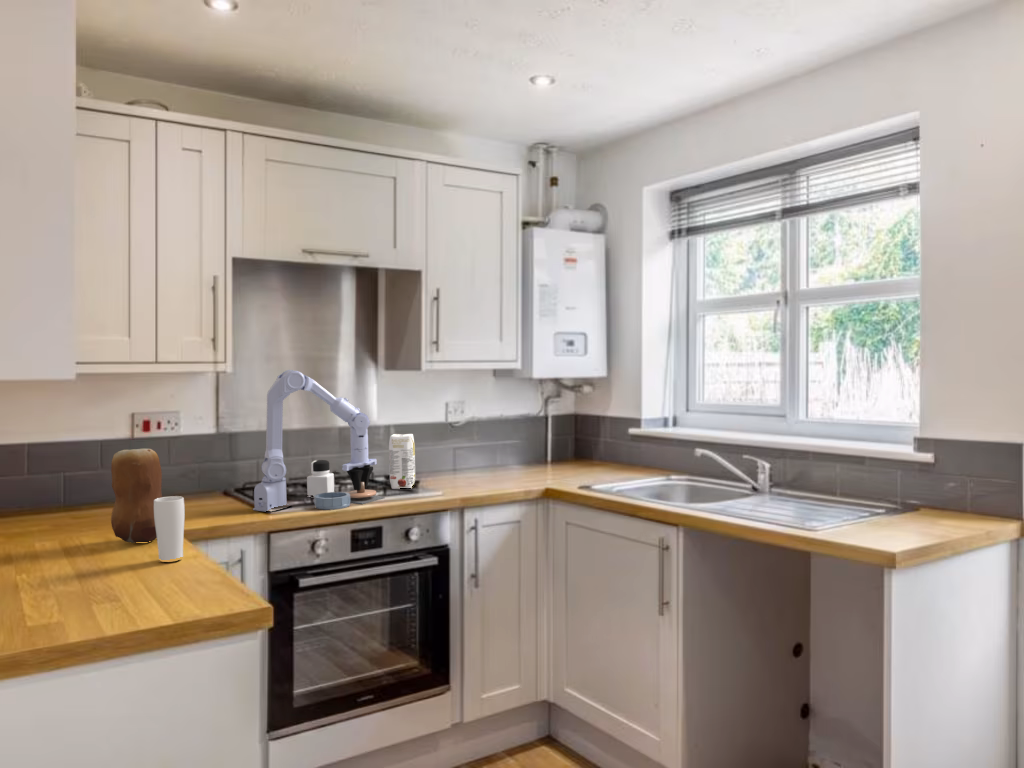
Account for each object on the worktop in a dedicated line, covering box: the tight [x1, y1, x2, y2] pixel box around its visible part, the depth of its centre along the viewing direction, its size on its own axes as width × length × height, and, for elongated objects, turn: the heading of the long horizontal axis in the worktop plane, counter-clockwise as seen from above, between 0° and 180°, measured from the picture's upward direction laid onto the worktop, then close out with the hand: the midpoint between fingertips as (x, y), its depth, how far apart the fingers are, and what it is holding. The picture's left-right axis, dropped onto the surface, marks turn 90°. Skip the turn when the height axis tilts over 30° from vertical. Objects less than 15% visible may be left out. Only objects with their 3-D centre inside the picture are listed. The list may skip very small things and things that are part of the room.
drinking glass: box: [154, 495, 186, 560], centre depth 186 cm, size 7×7×15 cm
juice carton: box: [388, 433, 416, 490], centre depth 277 cm, size 8×9×19 cm
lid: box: [346, 481, 377, 498], centre depth 257 cm, size 10×10×4 cm
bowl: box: [313, 491, 351, 511], centre depth 247 cm, size 11×11×4 cm
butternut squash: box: [110, 448, 163, 544], centre depth 204 cm, size 14×13×25 cm
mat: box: [350, 495, 386, 505], centre depth 257 cm, size 11×11×1 cm
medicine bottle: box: [306, 459, 335, 496], centre depth 265 cm, size 7×7×12 cm
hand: (360, 489), depth 257 cm, fingers closed on lid, 3 cm apart
